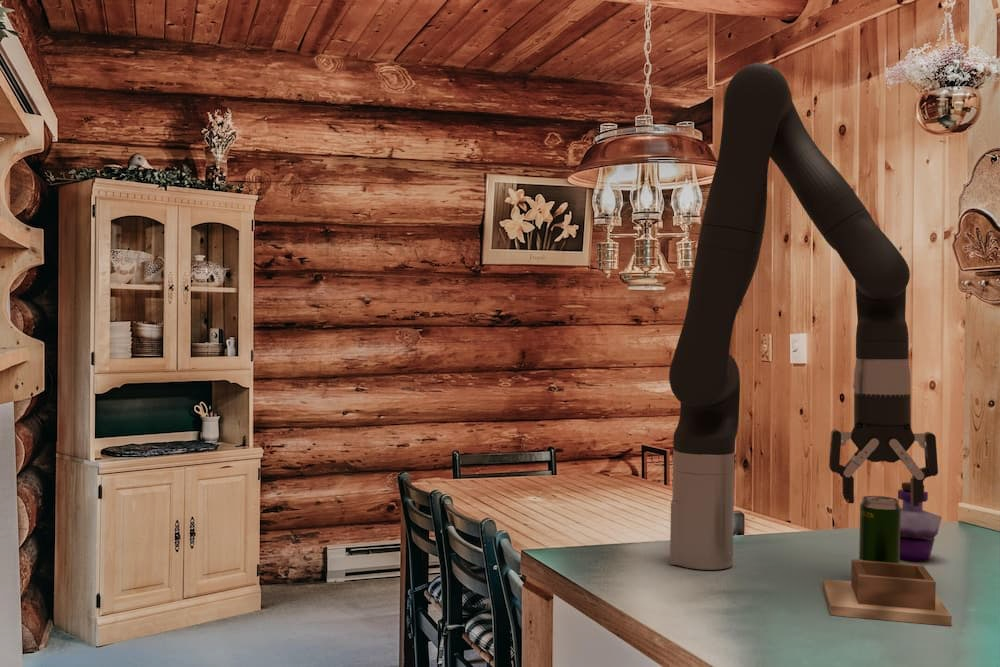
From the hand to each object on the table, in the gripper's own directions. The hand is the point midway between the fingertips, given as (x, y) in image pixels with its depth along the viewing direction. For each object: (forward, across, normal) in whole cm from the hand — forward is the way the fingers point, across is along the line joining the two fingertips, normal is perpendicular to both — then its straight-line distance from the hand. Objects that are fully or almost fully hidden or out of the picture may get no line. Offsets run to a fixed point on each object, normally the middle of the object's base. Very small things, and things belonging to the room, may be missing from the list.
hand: (882, 504), depth 133 cm
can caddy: (+11, 0, -12) cm, 16 cm away
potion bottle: (+12, +6, +17) cm, 22 cm away
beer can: (+12, 0, 0) cm, 12 cm away
